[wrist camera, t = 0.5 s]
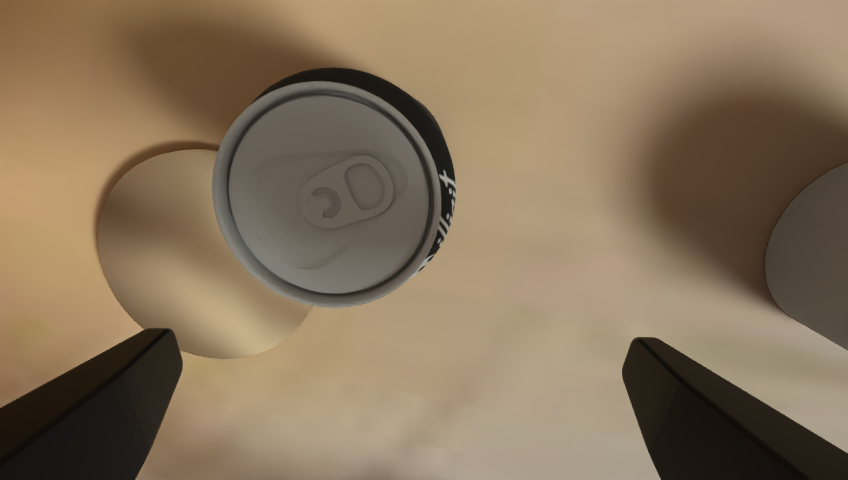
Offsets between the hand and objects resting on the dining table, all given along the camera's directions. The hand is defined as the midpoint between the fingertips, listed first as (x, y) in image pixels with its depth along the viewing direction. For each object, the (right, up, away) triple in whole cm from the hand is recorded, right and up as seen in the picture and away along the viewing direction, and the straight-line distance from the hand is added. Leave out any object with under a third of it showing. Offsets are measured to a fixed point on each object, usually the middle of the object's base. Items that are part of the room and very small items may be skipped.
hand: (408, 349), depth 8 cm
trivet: (-11, +1, +15) cm, 19 cm away
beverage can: (-2, +7, +14) cm, 15 cm away
